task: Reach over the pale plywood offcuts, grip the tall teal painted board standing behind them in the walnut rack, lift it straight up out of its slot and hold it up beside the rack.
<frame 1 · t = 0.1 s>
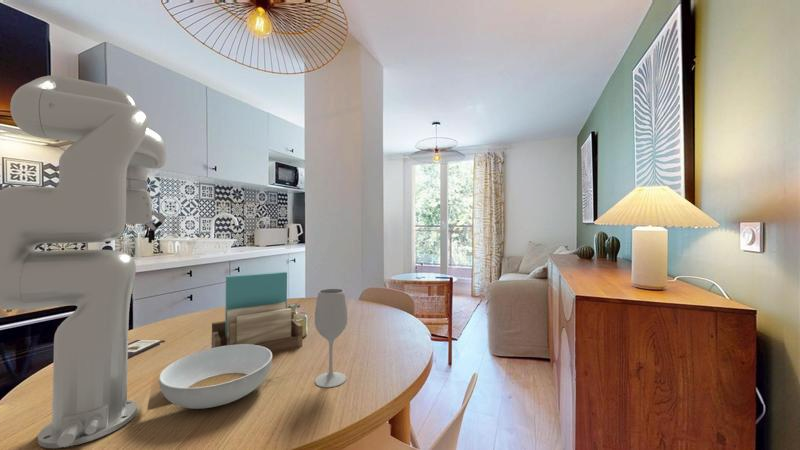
hand: (129, 243, 92), 31 cm above the table, tool pointing down, fingers open, 9 cm apart
serving bowl: (219, 395, 66), on the table
teal board: (256, 346, 89), point 1 cm above the table, touching walnut rack
walnut rack: (258, 354, 87), on the table
plywood offcuts: (258, 348, 87), resting on walnut rack
wineglass: (330, 380, 72), on the table
chocolate bar: (124, 355, 87), on the table
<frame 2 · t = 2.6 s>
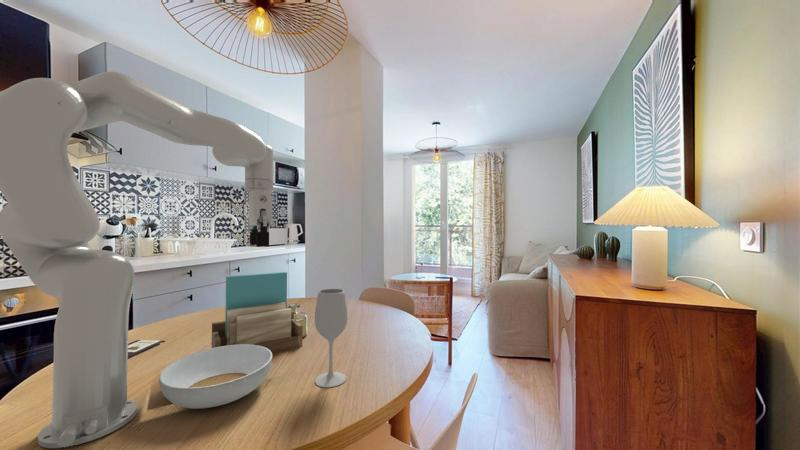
hand: (259, 245, 89), 31 cm above the table, tool pointing down, fingers open, 9 cm apart
nothing on the table moved.
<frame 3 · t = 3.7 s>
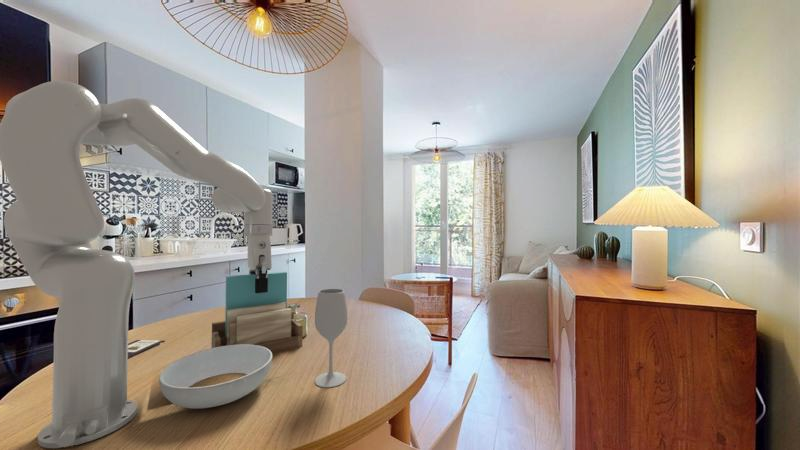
hand: (257, 289, 89), 18 cm above the table, tool pointing down, fingers open, 9 cm apart
nothing on the table moved.
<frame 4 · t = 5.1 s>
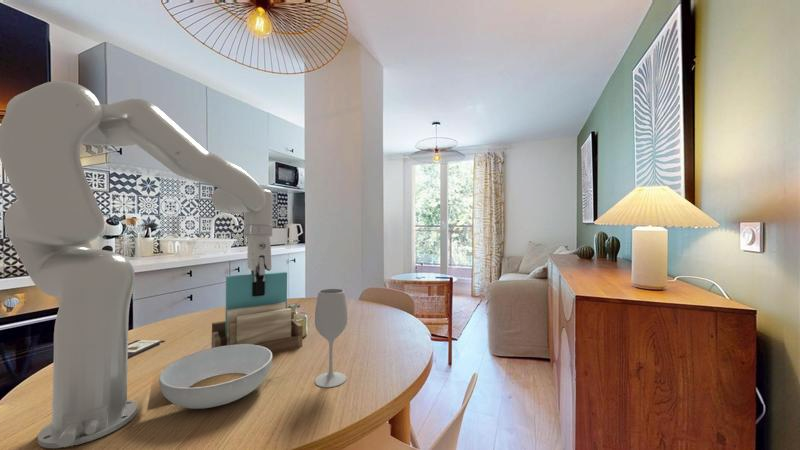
hand: (257, 294, 89), 17 cm above the table, tool pointing down, fingers closed on teal board, 2 cm apart
teal board: (257, 346, 89), point 2 cm above the table, touching gripper, walnut rack
everything else where it was.
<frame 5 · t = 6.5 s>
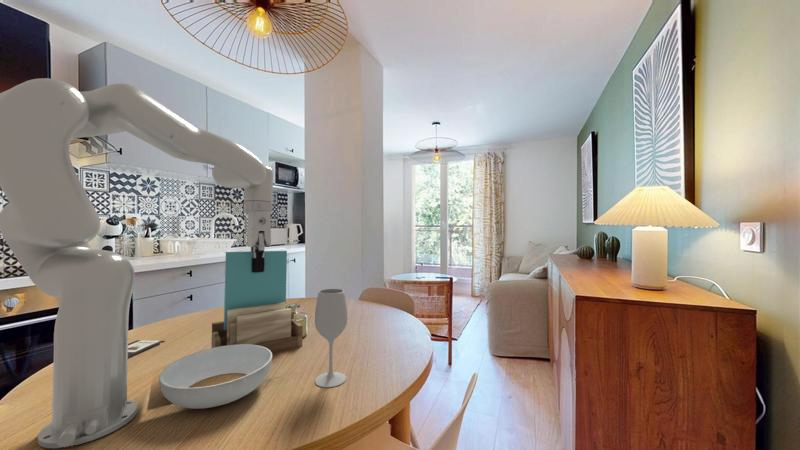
hand: (256, 271, 89), 23 cm above the table, tool pointing down, fingers closed on teal board
teal board: (255, 324, 88), point 8 cm above the table, touching gripper
everything else where it was.
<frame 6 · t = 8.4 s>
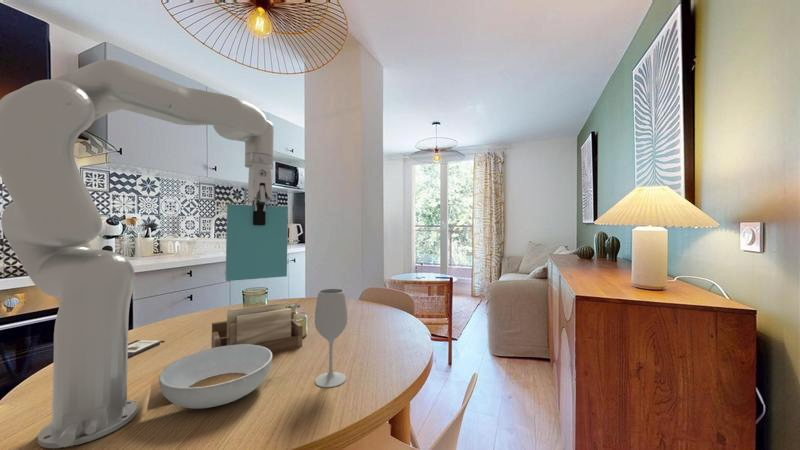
hand: (258, 224, 89), 37 cm above the table, tool pointing down, fingers closed on teal board
teal board: (257, 278, 89), point 21 cm above the table, touching gripper
everything else where it was.
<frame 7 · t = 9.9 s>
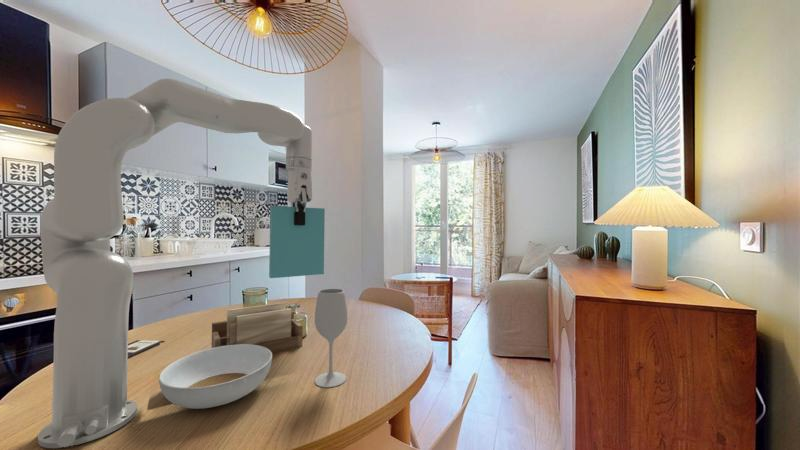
hand: (298, 224, 94), 37 cm above the table, tool pointing down, fingers closed on teal board
teal board: (297, 275, 94), point 21 cm above the table, touching gripper
everything else where it was.
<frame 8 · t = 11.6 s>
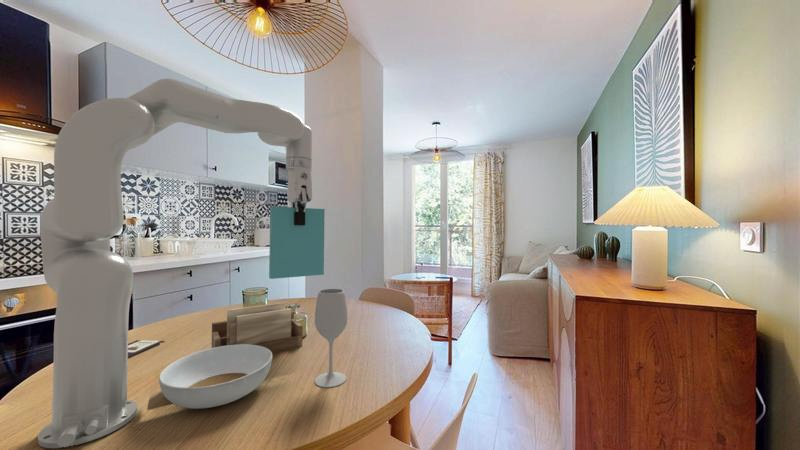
hand: (298, 224, 94), 37 cm above the table, tool pointing down, fingers closed on teal board
teal board: (297, 276, 94), point 21 cm above the table, touching gripper
everything else where it was.
at the end: the gripper is holding teal board; teal board inside the target area (1.0 cm from its centre), point 21.2 cm above the table; teal board tilted 0° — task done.
